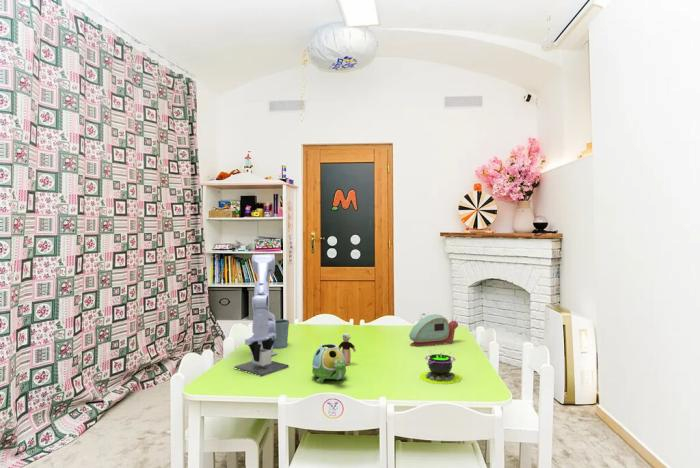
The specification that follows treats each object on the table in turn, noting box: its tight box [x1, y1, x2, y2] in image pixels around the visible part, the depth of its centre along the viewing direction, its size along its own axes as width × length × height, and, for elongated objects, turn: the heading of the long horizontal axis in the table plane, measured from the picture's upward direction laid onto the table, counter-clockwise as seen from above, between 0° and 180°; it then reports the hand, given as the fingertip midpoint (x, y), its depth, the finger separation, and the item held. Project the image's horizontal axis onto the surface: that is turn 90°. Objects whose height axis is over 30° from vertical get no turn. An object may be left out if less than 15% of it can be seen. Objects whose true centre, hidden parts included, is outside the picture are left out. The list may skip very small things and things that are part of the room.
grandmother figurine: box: [337, 332, 357, 366], centre depth 187 cm, size 8×4×13 cm, turn 82°
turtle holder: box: [311, 343, 348, 384], centre depth 168 cm, size 12×18×12 cm
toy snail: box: [408, 314, 459, 347], centre depth 220 cm, size 25×8×14 cm, turn 107°
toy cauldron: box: [419, 346, 462, 385], centre depth 169 cm, size 15×15×11 cm
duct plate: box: [233, 360, 290, 377], centre depth 183 cm, size 16×14×4 cm
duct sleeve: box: [251, 348, 272, 366], centre depth 183 cm, size 6×4×5 cm
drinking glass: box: [273, 318, 290, 350], centre depth 217 cm, size 10×10×12 cm
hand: (261, 359), depth 183 cm, fingers closed on duct sleeve, 4 cm apart
